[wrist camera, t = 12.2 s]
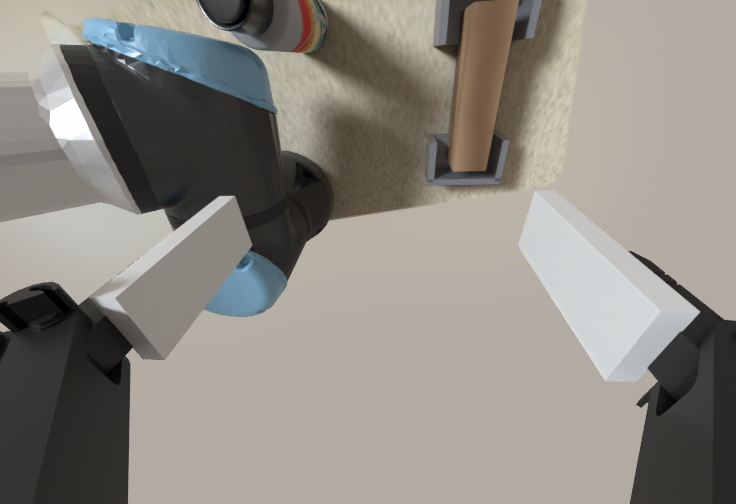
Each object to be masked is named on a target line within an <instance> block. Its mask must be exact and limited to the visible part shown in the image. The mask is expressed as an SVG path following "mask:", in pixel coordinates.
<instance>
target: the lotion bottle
mask: <svg viewBox="0 0 736 504" xmlns="http://www.w3.org/2000/svg"><path fill="white" fill-rule="evenodd" d="M196 1H197V3H198V5H199V7H200V9H201V11H202V13H203V14H204V16H205V17H206V18H207V19H208V21H209V22H211V23H212V24H213V25H214V26H216V27H217V28H219V29H222V30H225V31H230V32H231V33H232V34H233V36H234V37H235V38H236V39H238V40H239V41H240V42H241V43H243V44H244V45H246V46H248V47H250V48H253V49H257V50H264V51H280V52H297V53H310V52H314V51H316V50H318V49H319V48H320V47H321V46H322V45H323V44H324V42H325V40H326V37H327V34H328V18H327V14H326V11H325V8H324V6H323V5H322V3H321V2H320V0H196Z"/></svg>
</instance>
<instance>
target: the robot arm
mask: <svg viewBox="0 0 736 504" xmlns="http://www.w3.org/2000/svg"><path fill="white" fill-rule="evenodd" d="M83 29H84V30H83V32H82V36H83V37H84V39H85V41H87V42H89V43H90V44H91V45H59V44H52V46H51V47H50V49H49V50H48V52H47V53H46V55H45V56H44V58H43V60H42V61H41V63H40V64H39V66H38V67H37V68H35V69H34V70H33V71H31V72H30V73H0V222H4V221H9V220H14V219H19V218H24V217H29V216H34V215H39V214H44V213H49V212H54V211H59V210H64V209H69V208H74V207H79V206H84V205H89V204H94V203H99V202H102V203H107V204H112V205H114V206H117V207H119V208H122V209H124V210H127V211H129V212H132V213H135V214H143V213H147V212H151V211H156V210H160V209H164V211H165V213H166V215H167V217H168V220H169V222H170V224H171V227H172V229H173V231H174V232H173V233H171V234H170V235H169V236H167V237H166V238H165V239H164V240H162V241H161V242H160V243H158V244H157V245H156V246H155V247H153V248H152V249H151V250H150V251H148V252H147V253H146V254H145V255H143V256H142V257H140V258H139V259H137V260H136V261H135V262H134V263H132V264H131V265H130V266H128V267H127V268H126V269H125V270H123V271H122V272H121V273H119V274H118V275H117V276H116V277H115V278H113V279H112V280H110V281H109V282H108V283H106V284H105V285H104V286H103V287H101V288H100V289H99V290H97V291H96V292H95V293H94V294H92V295H91V296H90V297H89V298H87V299H86V300H85V301H83V302H82V303H81V304H80V305H77V304H76V303H75V302H74V300H72V298H71V297H70V296H69V295H68V294H67V293H66V292H65V291H64V290H63V289H62V288H61V287H60V285H59V284H56V283H54V282H48V283H40V284H36V285H32V286H29V287H26V288H23V289H21V290H18V291H16V292H14V293H12V294H10V295H8V296H6V297H4V298H3V299H1V300H0V322H1V323H2V324H3V325H5V326H6V327H7V328H8V329H10V330H11V331H7V332H1V331H0V504H128V466H129V465H128V463H129V413H130V411H129V410H130V362H129V360H128V359H127V358H126V356H125V355H126V354H127V353H128V352H129V351H130V350H131V349H132V348H134V350H135V351H136V352H137V353H138V354H139V355H140V356H141V358H142V359H153V360H165V359H166V358H167V356H168V355H169V353H170V352H171V351H172V350H173V348H174V347H175V346H176V344H177V343H178V342H179V341H180V339H181V338H182V337H183V335H184V334H185V333H186V331H187V330H188V329H189V328H190V326H191V325H192V324H193V322H194V321H195V320H196V318H197V317H198V316H199V314H200V313H201V312H202V311H203V309H205V310H207V311H210V312H213V313H216V314H220V315H226V316H234V317H248V316H254V315H258V314H260V313H263V312H264V311H266V310H267V309H269V308H271V307H272V306H273V305H274V303H275V302H276V301H277V299H278V298H279V296H280V295H281V293H282V292H283V291H284V289H285V288H286V285H287V281H288V279H289V277H290V275H291V273H292V271H293V268H294V266H295V264H296V262H297V260H298V258H299V256H300V254H301V252H302V250H303V248H304V245H305V243H306V242H307V241H308V240H310V239H311V238H313V237H314V236H316V235H317V234H319V233H320V232H321V231H322V230H323V228H324V227H325V226H326V225H327V222H328V221H329V218H330V216H331V213H332V210H333V193H332V189H331V186H330V184H329V182H328V180H327V178H326V176H325V175H324V174H323V172H322V171H321V170H320V169H319V168H318V167H317V166H316V165H315V164H314V163H313V162H311V161H310V160H308V159H307V158H305V157H303V156H301V155H299V154H296V153H293V152H289V151H281V147H280V139H279V132H278V125H277V118H276V114H278V113H277V109H276V107H275V106H274V103H273V98H272V93H271V88H270V83H269V78H268V73H267V69H266V67H265V65H264V63H263V62H262V60H261V59H260V58H259V57H258V56H257V55H256V54H255V53H254V52H252V51H251V50H249V49H247V48H245V47H242V46H239V45H236V44H232V43H229V42H225V41H221V40H217V39H213V38H208V37H204V36H199V35H195V34H190V33H185V32H180V31H175V30H170V29H164V28H159V27H153V26H147V25H140V24H139V25H135V24H132V23H124V22H117V21H114V20H109V19H100V18H88V19H86V20H85V21H84V22H83ZM518 247H519V248H520V250H521V252H522V253H523V255H524V256H525V257H526V259H527V261H528V262H529V264H530V265H531V267H532V268H533V270H534V272H535V273H536V275H537V276H538V278H539V279H540V281H541V282H542V284H543V286H544V287H545V289H546V290H547V292H548V293H549V295H550V296H551V298H552V299H553V301H554V302H555V304H556V305H557V307H558V309H559V310H560V312H561V313H562V315H563V316H564V318H565V320H566V321H567V322H568V324H569V325H570V327H571V329H572V330H573V332H574V333H575V335H576V336H577V338H578V340H579V341H580V343H581V344H582V346H583V347H584V349H585V350H586V352H587V353H588V355H589V356H590V358H591V360H592V361H593V363H594V364H595V366H596V367H597V369H598V370H599V372H600V373H601V375H602V377H603V378H604V380H605V381H620V382H636V381H637V380H638V379H639V378H640V377H641V376H642V375H643V374H644V373H645V371H646V370H647V369H649V370H650V372H651V373H652V374H653V375H654V376H655V378H656V379H657V380H658V382H657V383H656V384H655V385H654V386H653V387H652V388H651V389H650V390H649V391H648V392H647V393H646V394H645V395H644V396H643V397H642V398H641V399H640V400H639V401H638V403H637V404H636V405H638V406H639V407H643V405H644V404H646V403H648V409H647V414H646V420H645V425H644V430H643V436H642V441H641V446H640V452H639V457H638V463H637V468H636V473H635V479H634V484H633V489H632V495H631V500H630V504H736V321H731V320H724V319H723V318H721V317H720V316H719V315H718V314H716V313H715V312H714V311H713V310H711V309H710V308H709V307H708V306H706V305H705V304H704V303H703V302H701V301H700V300H699V299H697V298H696V297H695V296H693V295H692V294H691V293H690V292H689V291H687V290H686V289H685V288H684V287H682V286H681V285H677V282H676V281H675V280H674V279H672V278H671V277H670V276H669V275H665V272H664V271H662V270H661V269H659V267H657V266H656V265H655V264H654V263H652V262H651V261H649V260H647V259H646V258H644V257H642V256H640V255H638V254H636V253H634V252H632V251H627V250H626V249H625V248H623V247H622V246H621V245H620V244H619V243H617V242H616V241H615V240H614V239H613V238H611V237H610V236H609V235H608V234H607V233H605V232H604V231H603V230H602V229H600V228H599V227H598V226H597V225H596V224H595V223H593V222H592V221H591V220H590V219H589V218H587V217H586V216H585V215H584V214H582V213H581V212H580V211H579V210H578V209H577V208H575V207H574V206H573V205H572V204H571V203H569V202H568V201H567V200H566V199H565V198H563V197H562V196H561V195H560V194H559V193H557V192H556V191H554V190H552V191H535V193H534V196H533V200H532V203H531V206H530V209H529V212H528V216H527V219H526V222H525V225H524V228H523V232H522V235H521V238H520V241H519V244H518Z"/></svg>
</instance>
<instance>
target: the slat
mask: <svg viewBox="0 0 736 504" xmlns="http://www.w3.org/2000/svg"><path fill="white" fill-rule="evenodd" d="M518 3H519V0H493V1H481V2H474V3H472V4H471V5H469V6H468V7H467V8H465V9H464V10H463V11H462V14H461V23H460V32H459V42H458V51H457V60H456V69H455V79H454V88H453V97H452V106H451V116H450V125H449V134H448V143H447V152H446V159H447V161H448V163H449V165H450V167H451V169H452V171H453V172H458V171H486V167H487V162H488V157H489V152H490V147H491V141H492V136H493V131H494V126H495V121H496V116H497V111H498V106H499V100H500V95H501V90H502V85H503V80H504V75H505V70H506V65H507V60H508V54H509V49H510V44H511V39H512V34H513V29H514V24H515V19H516V13H517V8H518Z"/></svg>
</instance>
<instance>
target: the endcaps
mask: <svg viewBox="0 0 736 504" xmlns="http://www.w3.org/2000/svg"><path fill="white" fill-rule="evenodd" d="M481 1H493V0H436V13H435V28H434V43H433V46H445V45H458V42H459V32H460V23H461V14H462V11H463V10H464V9H465V8H467V7H468V6H469V5H471V4H472V3H474V2H481ZM541 4H542V0H519V3H518V8H517V13H516V19H515V24H514V29H513V34H512V39H511V41H518V40H525V39H532V38H534V35H535V30H536V26H537V22H538V17H539V13H540V9H541ZM447 143H448V134H431V135H427V148H426V163H425V177H426V181H427V185H479V184H500V182H501V177H502V173H503V169H504V164H505V160H506V156H507V151H508V147H509V143H510V140H508V139H507V138H506V137H504V136H503V135H502V134H500V133H499V132H493V136H492V141H491V147H490V152H489V157H488V162H487V167H486V171H458V172H453V171H452V169H451V167H450V165H449V163H448V161H447V159H446V152H447Z"/></svg>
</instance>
